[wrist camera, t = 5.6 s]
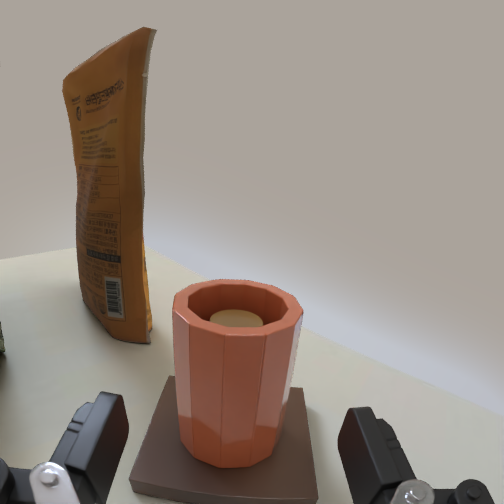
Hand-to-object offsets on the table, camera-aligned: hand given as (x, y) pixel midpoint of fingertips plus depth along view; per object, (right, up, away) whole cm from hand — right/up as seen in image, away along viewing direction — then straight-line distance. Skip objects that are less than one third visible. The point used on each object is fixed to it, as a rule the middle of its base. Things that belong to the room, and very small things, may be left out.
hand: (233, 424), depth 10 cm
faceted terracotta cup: (-1, -5, +7) cm, 9 cm away
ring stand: (-1, -6, +8) cm, 10 cm away
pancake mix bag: (-15, -1, +23) cm, 28 cm away
